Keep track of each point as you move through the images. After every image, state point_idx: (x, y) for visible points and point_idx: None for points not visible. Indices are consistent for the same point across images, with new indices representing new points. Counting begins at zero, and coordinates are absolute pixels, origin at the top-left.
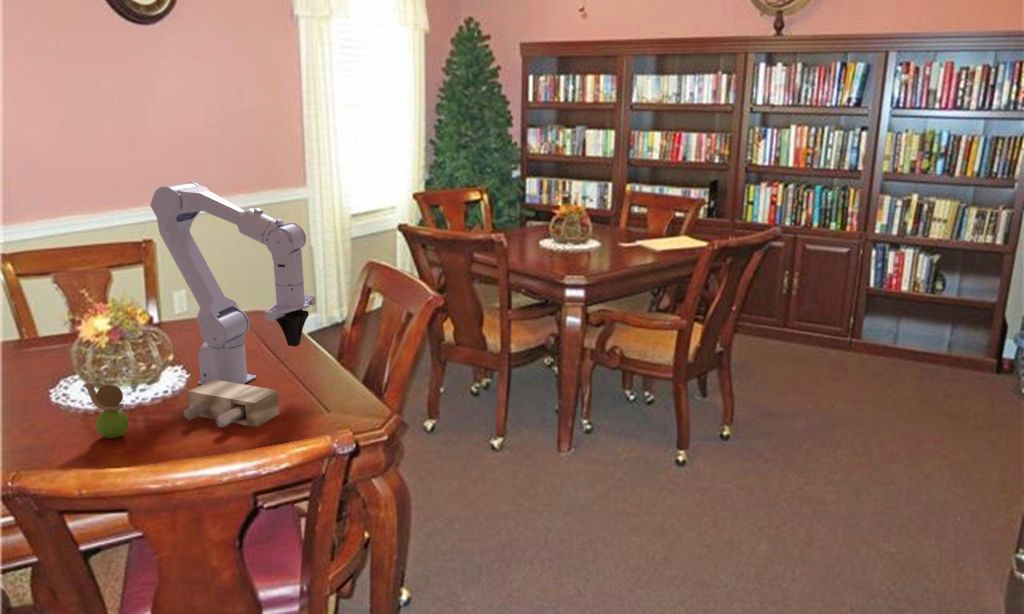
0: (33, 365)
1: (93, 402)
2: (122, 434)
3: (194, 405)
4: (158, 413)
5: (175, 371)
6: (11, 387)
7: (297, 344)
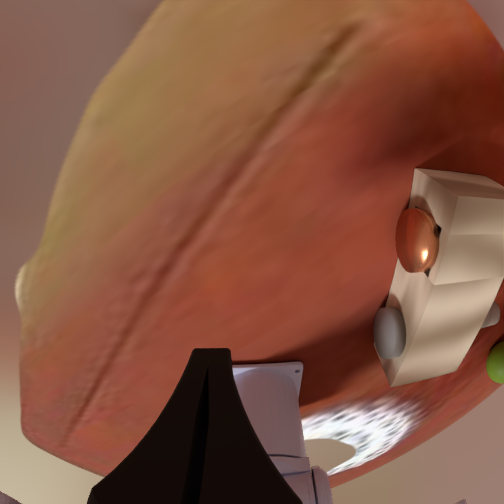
0: None
1: None
2: (501, 342)
3: (485, 325)
4: None
5: None
6: (356, 477)
7: (215, 352)
